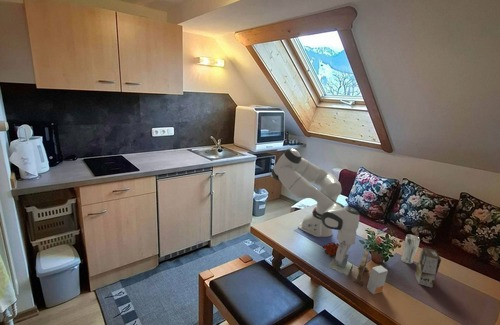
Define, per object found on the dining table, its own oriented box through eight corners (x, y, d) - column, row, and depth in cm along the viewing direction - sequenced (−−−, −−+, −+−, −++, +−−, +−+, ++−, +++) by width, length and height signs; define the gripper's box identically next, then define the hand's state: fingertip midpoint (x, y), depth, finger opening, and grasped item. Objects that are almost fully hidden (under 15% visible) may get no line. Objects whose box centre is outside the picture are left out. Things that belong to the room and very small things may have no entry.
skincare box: (373, 295, 123) (378, 273, 120) (366, 288, 127) (371, 267, 124) (382, 292, 126) (388, 270, 122) (375, 285, 129) (380, 264, 126)
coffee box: (432, 288, 131) (441, 260, 127) (418, 284, 133) (426, 256, 129) (428, 276, 139) (436, 249, 135) (414, 273, 141) (421, 246, 137)
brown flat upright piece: (362, 286, 128) (366, 267, 125) (353, 282, 130) (357, 263, 127) (367, 269, 141) (372, 251, 138) (359, 265, 143) (363, 248, 140)
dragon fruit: (344, 263, 144) (322, 259, 151) (347, 251, 150) (326, 248, 157) (340, 252, 140) (319, 249, 148) (344, 240, 146) (323, 238, 153)
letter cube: (344, 268, 138) (346, 259, 137) (335, 264, 140) (336, 255, 139) (346, 263, 142) (348, 254, 141) (337, 259, 145) (339, 251, 143)
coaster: (328, 267, 140) (328, 266, 140) (333, 258, 148) (333, 257, 148) (347, 275, 135) (348, 274, 135) (352, 265, 143) (352, 264, 143)
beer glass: (415, 265, 148) (422, 241, 144) (402, 263, 149) (408, 239, 145) (411, 258, 154) (417, 235, 150) (398, 255, 156) (404, 233, 151)
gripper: (347, 249, 127) (342, 273, 131) (356, 231, 144) (351, 253, 148) (334, 244, 130) (330, 268, 134) (344, 227, 147) (340, 249, 151)
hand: (341, 260), depth 141 cm, fingers closed on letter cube, 5 cm apart
